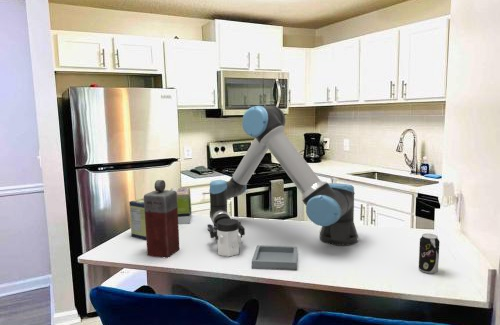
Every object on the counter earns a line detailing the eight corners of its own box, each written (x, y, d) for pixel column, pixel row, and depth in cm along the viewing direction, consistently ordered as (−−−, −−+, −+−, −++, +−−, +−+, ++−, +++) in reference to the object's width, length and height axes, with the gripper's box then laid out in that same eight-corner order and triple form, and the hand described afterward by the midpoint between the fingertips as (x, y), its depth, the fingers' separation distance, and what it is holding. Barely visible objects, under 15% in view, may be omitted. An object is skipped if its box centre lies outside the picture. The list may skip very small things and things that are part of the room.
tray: (297, 253, 140) (297, 246, 139) (296, 270, 125) (296, 262, 124) (257, 251, 142) (256, 245, 141) (251, 268, 127) (251, 261, 127)
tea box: (172, 216, 192) (170, 187, 190) (191, 215, 193) (190, 186, 191) (169, 224, 177) (167, 194, 175) (190, 223, 178) (189, 193, 176)
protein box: (173, 230, 170) (172, 196, 167) (148, 240, 156) (145, 204, 154) (156, 226, 175) (155, 194, 173) (130, 236, 162) (128, 201, 159)
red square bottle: (154, 246, 149) (150, 177, 145) (179, 249, 146) (176, 178, 142) (141, 254, 141) (136, 181, 137) (168, 258, 137) (164, 182, 133)
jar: (223, 258, 136) (222, 226, 134) (213, 251, 143) (211, 221, 141) (244, 253, 140) (243, 222, 139) (233, 246, 147) (232, 217, 146)
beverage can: (441, 274, 120) (443, 238, 118) (424, 275, 119) (426, 238, 118) (431, 266, 125) (433, 232, 124) (415, 267, 125) (416, 233, 123)
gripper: (244, 228, 161) (256, 247, 138) (200, 232, 157) (205, 252, 134) (243, 211, 160) (256, 227, 137) (199, 214, 156) (204, 232, 133)
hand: (231, 239), depth 136 cm, fingers open, 6 cm apart
